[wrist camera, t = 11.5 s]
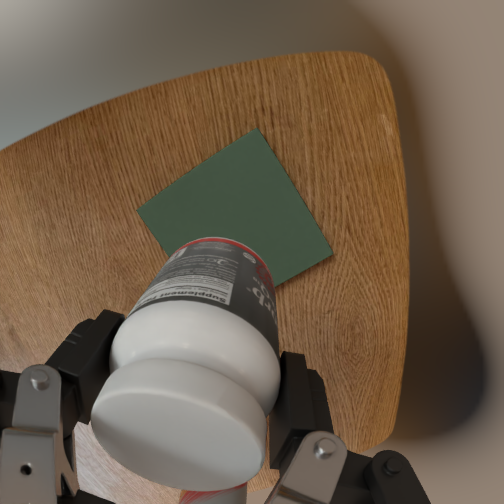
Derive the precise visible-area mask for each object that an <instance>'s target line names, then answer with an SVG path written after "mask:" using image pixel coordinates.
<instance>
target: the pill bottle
mask: <svg viewBox="0 0 504 504" xmlns="http://www.w3.org/2000/svg"><path fill="white" fill-rule="evenodd" d="M109 368H110V374H111V375H110V377H109V378H108V379H107V380H106V382H105V384H104V386H103V388H102V390H101V391H100V393H99V395H98V397H97V399H96V401H95V403H94V405H93V408H92V411H91V426H92V429H93V432H94V435H95V437H96V439H97V440H98V442H99V443H100V445H101V446H102V447H103V449H104V450H105V451H106V452H107V453H108V454H109V455H110V456H111V457H112V458H114V459H115V460H116V461H117V462H118V463H120V464H121V465H122V466H124V467H125V468H127V469H128V470H130V471H132V472H133V473H135V474H137V475H139V476H141V477H143V478H145V479H148V480H150V481H153V482H155V483H158V484H161V485H165V486H168V487H172V488H177V489H182V490H189V491H218V490H224V489H229V488H232V487H235V486H238V485H241V484H243V483H245V482H247V481H249V480H250V479H252V478H253V477H254V476H255V475H256V474H257V473H258V472H259V471H260V469H261V468H262V466H263V463H264V460H265V450H266V434H267V422H266V417H267V416H268V415H269V413H270V412H271V410H272V409H273V407H274V405H275V403H276V400H277V398H278V394H279V389H280V382H281V368H280V355H279V340H278V326H277V310H276V297H275V287H274V282H273V279H272V276H271V273H270V271H269V269H268V267H267V265H266V264H265V263H264V261H263V260H262V259H261V258H260V256H259V255H257V254H256V253H255V252H254V251H253V250H252V249H250V248H249V247H247V246H246V245H244V244H242V243H240V242H237V241H234V240H231V239H227V238H221V237H206V238H201V239H197V240H194V241H191V242H189V243H187V244H185V245H184V246H182V247H181V248H179V249H178V250H177V251H176V252H175V253H174V254H173V255H172V256H171V257H170V258H169V259H168V260H167V262H166V263H165V265H164V266H163V267H162V269H161V270H160V271H159V273H158V274H157V275H156V277H155V278H154V280H153V281H152V282H151V284H150V285H149V286H148V288H147V289H146V291H145V292H144V293H143V295H142V296H141V298H140V299H139V300H138V302H137V303H136V305H135V306H134V308H133V309H132V310H131V312H130V313H129V315H128V316H127V318H126V319H125V320H124V322H123V323H122V324H121V326H120V328H119V330H118V332H117V334H116V336H115V337H114V340H113V342H112V345H111V349H110V356H109Z"/></svg>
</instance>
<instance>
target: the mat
mask: <svg viewBox="0 0 504 504" xmlns="http://www.w3.org/2000/svg"><path fill="white" fill-rule="evenodd" d="M136 211H137V212H138V214H139V215H140V217H141V218H142V220H143V221H144V222H145V224H146V225H147V227H148V228H149V230H150V231H151V232H152V234H153V235H154V237H155V238H156V240H157V241H158V242H159V244H160V245H161V247H162V248H163V249H164V251H165V252H166V253H167V255H168V256H169V258H170V257H171V256H172V255H173V254H174V253H175V252H176V251H177V250H178V249H179V248H181V247H182V246H184V245H185V244H187V243H189V242H191V241H194V240H197V239H201V238H206V237H221V238H227V239H231V240H234V241H237V242H240V243H242V244H244V245H246V246H247V247H249V248H250V249H252V250H253V251H254V252H255V253H256V254H257V255H259V256H260V258H261V259H262V260H263V261H264V263H265V264H266V265H267V267H268V269H269V271H270V273H271V276H272V279H273V282H274V287H276V286H278V285H280V284H281V283H283V282H285V281H287V280H288V279H290V278H292V277H294V276H296V275H297V274H299V273H301V272H303V271H304V270H306V269H308V268H310V267H311V266H313V265H315V264H317V263H318V262H320V261H322V260H324V259H325V258H327V257H329V256H331V255H332V254H333V251H332V250H331V248H330V246H329V244H328V242H327V241H326V239H325V237H324V235H323V234H322V232H321V230H320V228H319V227H318V225H317V223H316V221H315V220H314V218H313V216H312V215H311V213H310V211H309V210H308V208H307V206H306V204H305V203H304V201H303V199H302V198H301V196H300V194H299V193H298V191H297V189H296V188H295V186H294V185H293V183H292V181H291V180H290V178H289V176H288V175H287V173H286V172H285V170H284V168H283V167H282V165H281V164H280V162H279V160H278V159H277V157H276V156H275V154H274V152H273V151H272V149H271V148H270V146H269V145H268V143H267V142H266V140H265V138H264V137H263V135H262V134H261V132H260V131H259V129H258V128H256V129H254V130H252V131H251V132H249V133H247V134H246V135H244V136H243V137H241V138H239V139H238V140H236V141H235V142H233V143H232V144H230V145H228V146H227V147H225V148H224V149H222V150H221V151H219V152H218V153H216V154H215V155H213V156H212V157H210V158H209V159H207V160H206V161H204V162H203V163H201V164H200V165H198V166H197V167H195V168H194V169H192V170H191V171H189V172H188V173H187V174H185V175H184V176H182V177H181V178H179V179H178V180H177V181H175V182H174V183H172V184H171V185H170V186H168V187H167V188H165V189H164V190H163V191H161V192H160V193H159V194H157V195H156V196H154V197H153V198H152V199H150V200H149V201H148V202H146V203H145V204H144V205H142V206H141V207H140V208H138V209H137V210H136Z"/></svg>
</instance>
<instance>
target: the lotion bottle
mask: <svg viewBox="0 0 504 504" xmlns="http://www.w3.org/2000/svg"><path fill="white" fill-rule="evenodd" d="M246 497H247V482H245V483H243V484H241V485H238V486H235V487H232V488H229V489H224V490H218V491H189V490H182V489H181V494H180V499H179V504H246Z"/></svg>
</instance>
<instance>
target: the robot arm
mask: <svg viewBox="0 0 504 504" xmlns="http://www.w3.org/2000/svg"><path fill="white" fill-rule="evenodd" d="M124 320H125V316H124V315H123V314H120V313H117V312H113V311H110V310H106V309H104V310H103V311H102V312H101V313H100V315H99V316H98V317H97V318H96V319H95V320H93V319H90V318H89V319H87V320H85V321H83V322H81V323H79V324H78V325H77V326H76V327H75V328H74V329H73V330H72V332H71V334H69V335H68V336H67V337H66V339H65V341H63V342H62V343H61V345H60V346H59V347H58V348H57V349H56V351H55V352H54V353H53V354H52V356H51V357H50V358H49V359H48V361H47V362H46V363H45V364H44V365H43V364H37V365H32V366H30V367H28V368H26V369H25V370H24V371H23V372H22V373H15V372H9V371H4V370H0V504H115V503H114V502H111V501H108V500H106V499H103V498H100V497H97V496H95V495H92V494H90V493H87V492H85V491H82V490H80V487H79V483H78V478H77V468H76V454H75V434H74V427H75V425H76V423H77V422H78V421H79V422H81V423H84V424H87V425H88V424H89V422H90V420H91V411H92V408H93V405H94V403H95V401H96V399H97V397H98V395H99V393H100V391H101V390H102V388H103V386H104V384H105V382H106V380H107V379H108V378H109V377H110V375H111V374H110V368H109V356H110V349H111V345H112V342H113V340H114V337H115V336H116V334H117V332H118V330H119V328H120V326H121V324H122V323H123V322H124ZM280 368H281V382H280V389H279V394H278V398H277V400H276V403H275V405H274V407H273V409H272V410H271V412H270V413H269V438H270V469H278V470H279V473H280V478H279V480H278V481H277V483H276V484H275V486H274V488H273V490H272V491H271V493H270V495H269V496H268V498H267V500H266V501H265V503H264V504H431V503H430V501H429V499H428V497H427V495H426V493H425V491H424V489H423V487H422V485H421V483H420V482H419V480H418V478H417V476H416V474H415V472H414V470H413V468H412V467H411V465H410V463H409V461H408V460H407V459H406V458H405V457H404V456H403V455H402V454H400V453H398V452H396V451H392V450H384V451H381V452H378V453H377V454H376V455H375V456H374V457H373V458H371V457H367V456H364V455H360V454H356V453H353V452H351V451H349V450H347V448H346V445H345V443H344V442H343V441H342V440H341V439H340V438H339V437H338V436H336V435H335V434H334V430H333V425H332V420H331V416H330V411H329V406H328V402H327V396H326V393H325V387H324V382H323V379H322V378H321V377H320V375H319V374H318V373H317V371H316V370H312V369H307V366H306V360H305V356H304V354H298V353H292V352H286V351H283V353H282V355H281V357H280Z"/></svg>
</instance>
